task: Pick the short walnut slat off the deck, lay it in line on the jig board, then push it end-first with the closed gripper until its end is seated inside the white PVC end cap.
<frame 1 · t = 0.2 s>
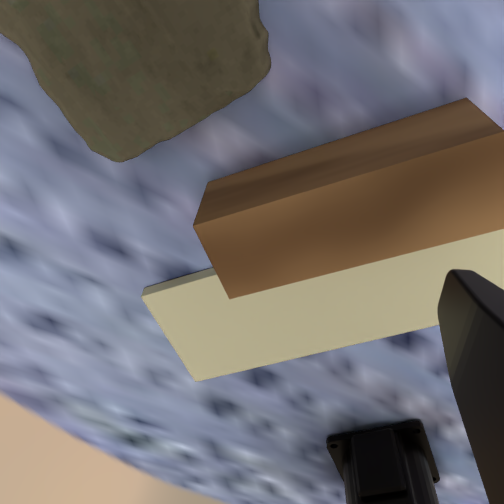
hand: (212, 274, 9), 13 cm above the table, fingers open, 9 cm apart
slat: (339, 179, 23), on the table
jig board: (385, 275, 25), on the table
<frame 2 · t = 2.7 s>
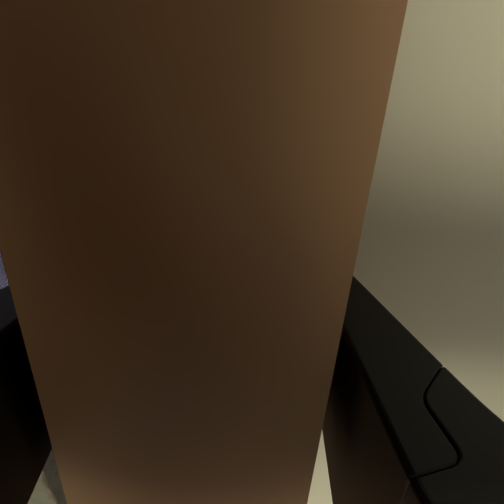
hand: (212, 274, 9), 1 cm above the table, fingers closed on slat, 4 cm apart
slat: (220, 241, 10), on the table, touching gripper
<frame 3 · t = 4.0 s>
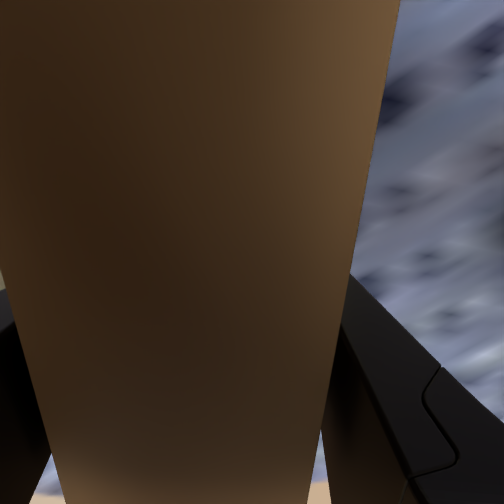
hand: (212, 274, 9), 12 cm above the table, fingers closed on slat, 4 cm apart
slat: (219, 241, 10), point 10 cm above the table, touching gripper
when the fingers open (3 cm above the table, at t = 5.7 s): slat drops 1 cm, resting on jig board.
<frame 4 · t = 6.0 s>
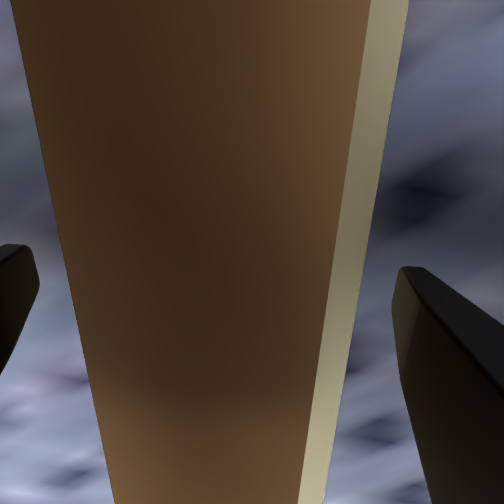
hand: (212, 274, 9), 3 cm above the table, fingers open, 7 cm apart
slat: (228, 211, 12), point 1 cm above the table, touching jig board
jig board: (230, 188, 12), on the table
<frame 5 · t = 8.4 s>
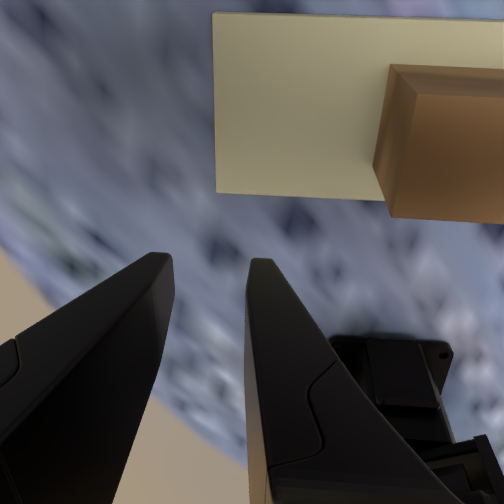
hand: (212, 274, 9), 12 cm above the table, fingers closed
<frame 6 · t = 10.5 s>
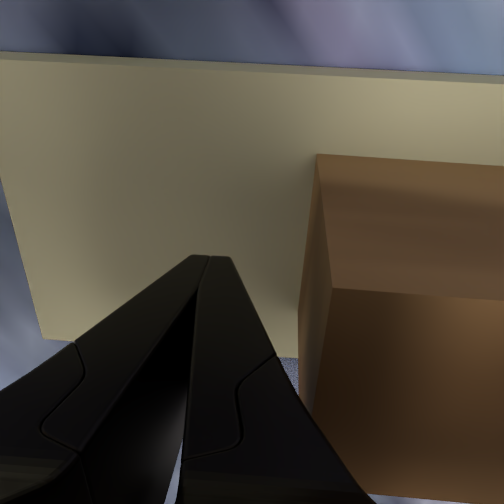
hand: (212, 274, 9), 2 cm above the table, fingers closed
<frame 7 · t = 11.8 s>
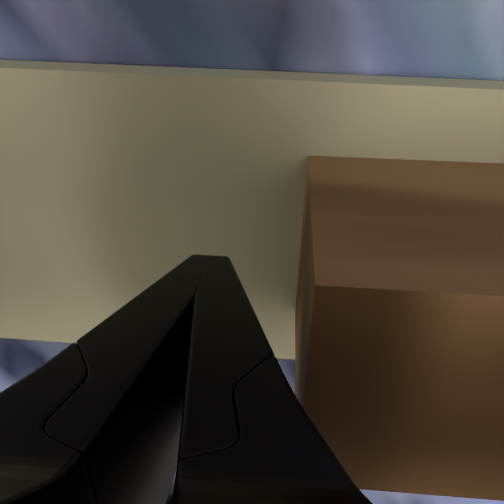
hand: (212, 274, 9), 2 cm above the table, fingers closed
jig board: (342, 229, 11), on the table
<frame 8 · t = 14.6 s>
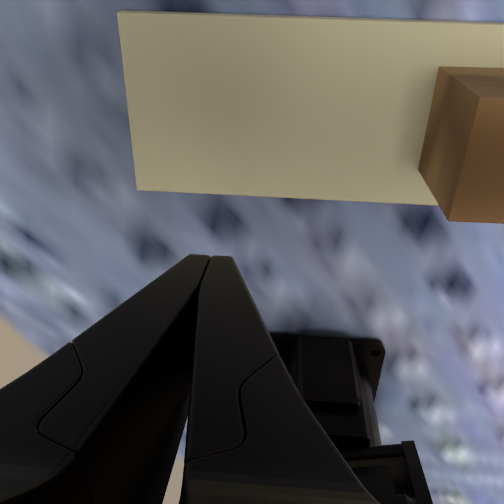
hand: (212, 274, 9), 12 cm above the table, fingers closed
jig board: (446, 117, 19), on the table
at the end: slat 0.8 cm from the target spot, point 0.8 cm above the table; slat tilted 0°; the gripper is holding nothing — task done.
